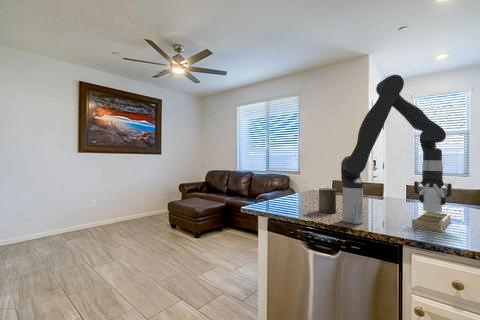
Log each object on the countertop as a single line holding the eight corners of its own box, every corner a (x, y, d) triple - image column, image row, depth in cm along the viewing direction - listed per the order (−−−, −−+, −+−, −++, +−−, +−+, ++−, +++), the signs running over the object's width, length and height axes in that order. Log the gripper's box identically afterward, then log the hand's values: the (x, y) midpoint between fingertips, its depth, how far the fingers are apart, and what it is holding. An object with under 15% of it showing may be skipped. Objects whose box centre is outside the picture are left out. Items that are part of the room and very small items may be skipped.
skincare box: (436, 211, 110) (437, 186, 110) (442, 213, 106) (442, 187, 106) (422, 210, 112) (422, 186, 112) (426, 212, 108) (427, 187, 108)
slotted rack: (440, 232, 97) (440, 224, 97) (412, 227, 104) (412, 219, 104) (450, 221, 114) (450, 214, 114) (425, 217, 122) (425, 211, 122)
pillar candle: (337, 214, 129) (338, 187, 129) (320, 213, 130) (320, 187, 131) (333, 210, 138) (333, 186, 139) (317, 209, 140) (317, 185, 140)
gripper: (412, 169, 112) (411, 202, 112) (451, 170, 101) (451, 207, 101) (415, 169, 117) (415, 200, 117) (453, 170, 106) (453, 205, 106)
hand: (432, 203), depth 109 cm, fingers closed on skincare box, 7 cm apart
